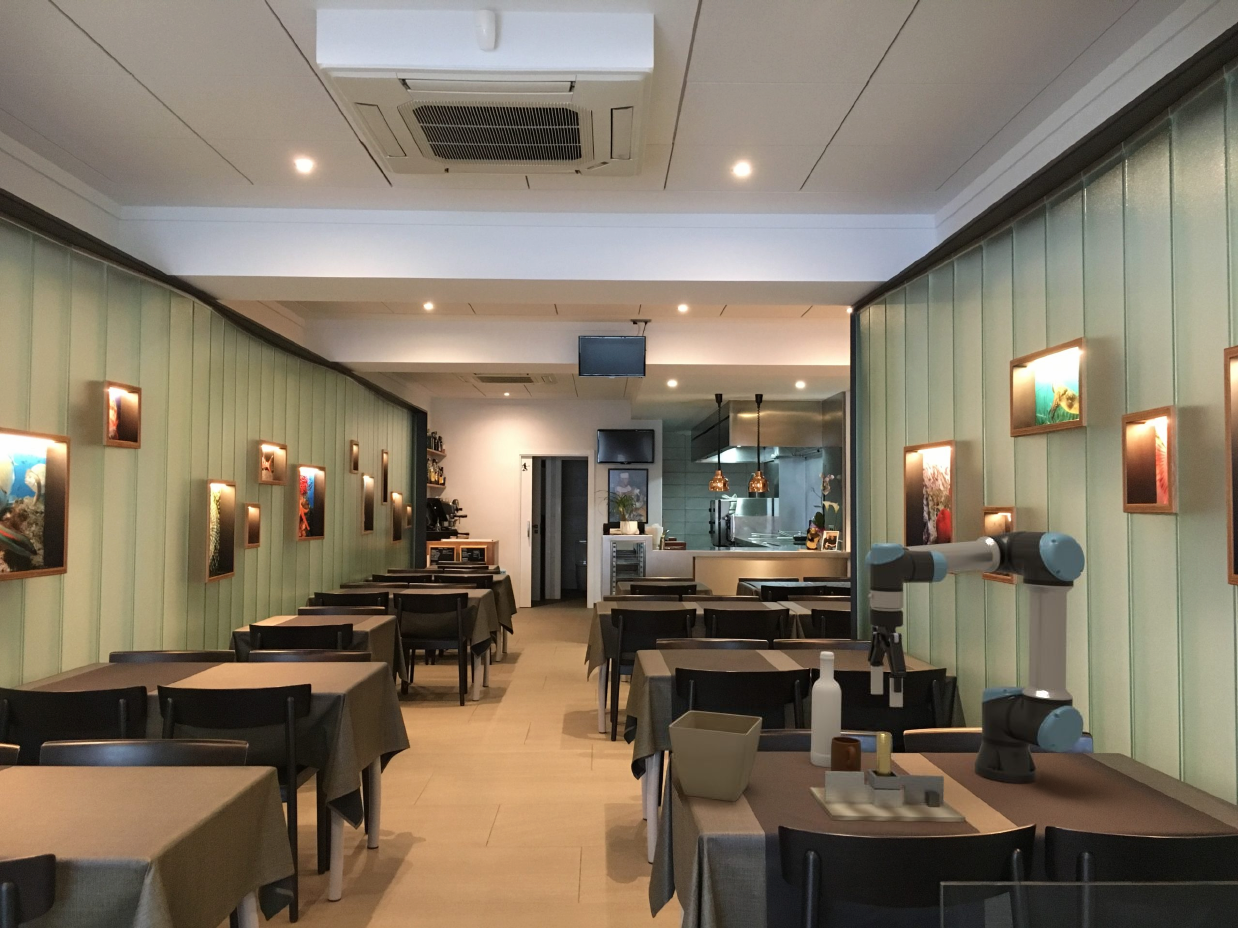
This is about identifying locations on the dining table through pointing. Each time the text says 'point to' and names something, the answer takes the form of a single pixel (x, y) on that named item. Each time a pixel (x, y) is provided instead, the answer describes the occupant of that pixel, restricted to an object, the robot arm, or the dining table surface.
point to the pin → (883, 754)
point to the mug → (846, 754)
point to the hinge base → (864, 791)
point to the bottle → (825, 712)
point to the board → (888, 811)
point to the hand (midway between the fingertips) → (886, 700)
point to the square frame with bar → (909, 785)
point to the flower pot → (714, 753)
